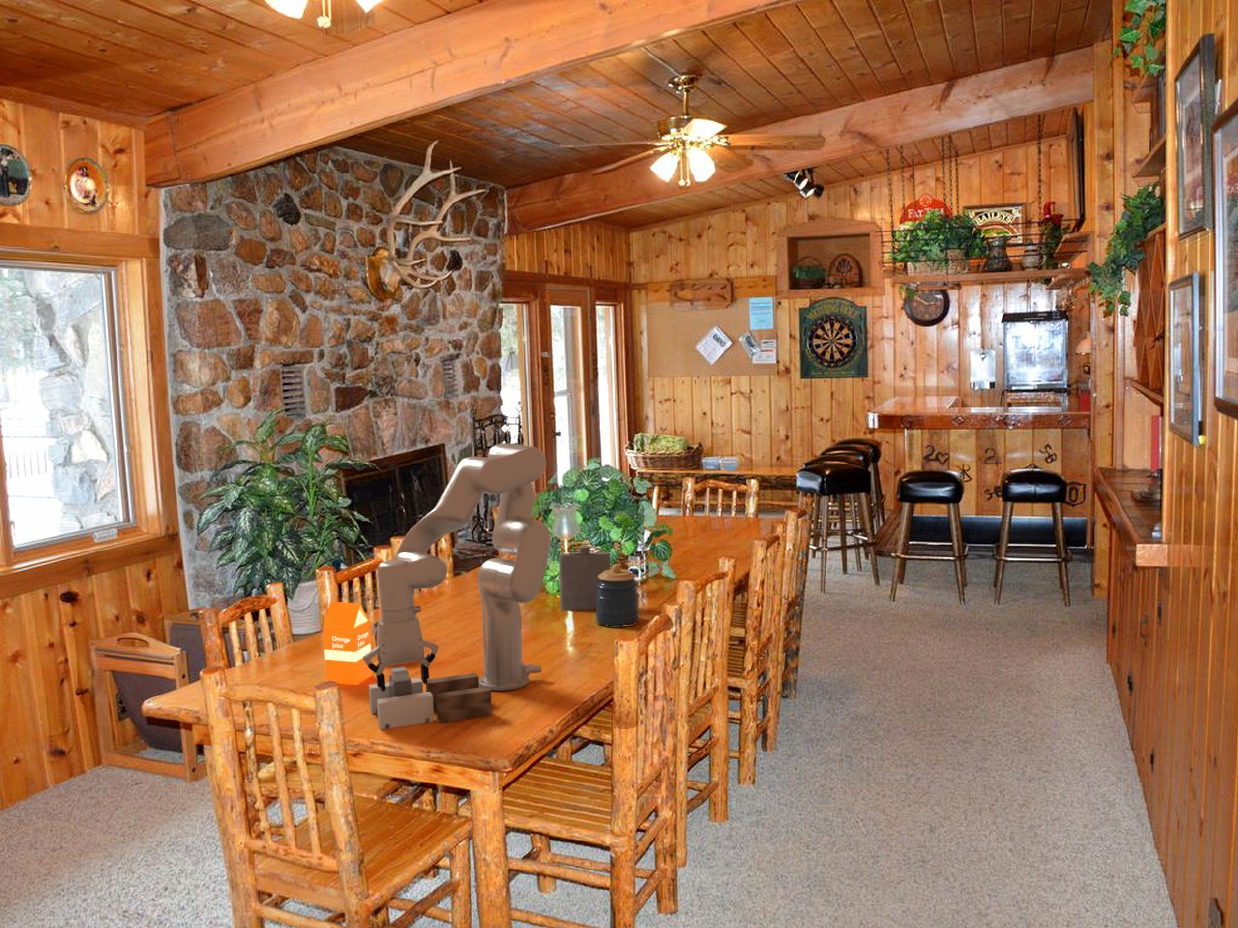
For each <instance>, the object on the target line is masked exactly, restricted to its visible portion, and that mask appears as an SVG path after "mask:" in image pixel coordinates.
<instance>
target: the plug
mask: <svg viewBox="0 0 1238 928" xmlns="http://www.w3.org/2000/svg"><path fill="white" fill-rule="evenodd" d="M411 679H412V678H410V673H409V671H408V670H407V668H406V666H402V667H401V666H400V667H395V668H390V674H388V682H389V688H390V697H397V696H405V695H412V684H411Z"/></svg>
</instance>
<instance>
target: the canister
mask: <svg viewBox="0 0 1238 928" xmlns="http://www.w3.org/2000/svg"><path fill="white" fill-rule="evenodd" d="M598 578H599V581H597V582H596V583H595V586H596V587H597V593H596V595H595V596H596V611H595V619H596V623H597V624H598V623H599V624H601V625H600V626H602V625H608V626H623V625H631V624H634V623H636V622H638V623H639V618H640V613H639V592H638V588H637V587H638V586H639V582H638V581H637V580H636V579H635V578H636V574H635V573H633V572H632V571H631V570H630V569H629V570H628V569H624V568H621V566H620V564H616V563H615V564H613V565H612V567H611V568H610V570H605V571H603V572H602V573H601V574H599V575H598ZM599 624H598V625H599ZM636 624H637V623H636Z"/></svg>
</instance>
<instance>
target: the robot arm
mask: <svg viewBox="0 0 1238 928" xmlns="http://www.w3.org/2000/svg"><path fill="white" fill-rule="evenodd" d="M546 469H547V459H546V456H545V454H544V452H543V451H542V450H541V449H540V448H538V447H536V446H532V445H524V444H516V443H505V442H504V443H497V444H495V445H493V446H492V447H491V448H490V449H489V451H488V453H487V457H486V456H483V457H482V456H468V457H465V458H463V459H462V460H460V462H459V463H458V465H457V466H456V468H455V470H454V472H453V474H452V476H451V477H450V479H449V482H448V483H447V485H446V486H445V489H444V491H442V494H441V496H440V498H439V500H438V502H437V503H436V505H435V507H434V508H433V509H432V510H431V511H429V512H428V513H427V514H425V516H423V517H422V518H421V519H420V520H419V521H418V522H417V523H416V524H415V525H413V526H412V527H411V528H410V530H409V531H408V532H407V533H406V535H405V536H404V537H403V540H402V541H401V543H400V546H399V547H398V549H397V551H396V553H395V556H394V558H393V559H388V560H384V561H382V562H380V563H379V564H378V566H377V579H378V581H377V582H378V583H377V584H378V593H379V594H378V595H379V605H380V615H381V616H380V618H381V619H380V620H378V621H377V622H378V627H377V647H376V646H375V647H374V648H372V649H371V651H370V652H369V653H367V654H366V655H364V656H363V660H364V662H365V663H366V665H367V666H368V667H369V669H371V670H372V672H373V673H374V674H376V684H377V686H378V687H380V688H381V690H382V692H383V691H385V683H386V681H385V680H386V679H385V674H384V671H385V669H386V668H387V666H395V665H401V664H402V665H403V664H407V663H408V664H409V663H412V662H417V661H419V662H420V663H421V664H419V665H420V666H419V669H420V679H421V680H422V683H423V684H424V685H426V684H427V679H430V671H429V667H430V666H431V663H432V662H433V660H435V658H436V655H437V653H438V650H439V649H440V647H439V645H438V644H437V643H434V642H432V641H428V640H425V639H423V635H422V634H423V633H422V628H421V624H420V621H419V618H418V615H417V613H420V612H422V607H421V605H415V601H414V600H415V596H414V590H419V589H421V590H423V589H432V588H434V587H437V586H439V585H440V584H442V583H443V582H444V581H445V579H446V577H447V574H448V568H447V564H446V563H445V561H444V560H443V559H442V558H440V557H439V556H436V555H433V554H429V553H428V551H429V549H430V548H431V547H432V546H433V545H434V544H435V542H437V541H438V540H439V539H440V538H442V537H444V536H446V535H448V534H450V533H452V532H453V533H454V532H456V531H458V530H460V529H462V528H465V526H467V525H468V523H469V521H470V519H471V518H472V515H473V514H474V512H475V510H476V508H477V506H478V504H479V502H480V500H481V498H482V497H483V496H484V494H488V495H493V496H494V495H500V499H499V504H498V510H497V512H496V513H497V515H496V517H495V518H496V519H495V523H494V528H493V531H492V537H491V539H492V540H491V542H492V545H493V547H494V549H496V550H497V551H499V552H500V553H504V554H507V555H512V556H515V559H514V560H511V559H507V558H501V557H500V558H499V557H494V558H493V557H492V558H490V559H487V560H486V561H484V562H483V563H482V564H481V566H480V567H479V569H478V572H477V578H476V580H477V582H476V583H477V588H478V592H479V596H480V603H481V610H482V611H481V614H482V616H481V617H482V639H483V641H482V643H483V645H482V646H483V668H484V669H483V671H484V673H483V675H481V676H480V677H478V678H479V688H481V687H488V688H489V689H490V690H491V691H495V692H497V691H498V692H500V691H503V692H504V691H511V690H517V689H521V688H523V687H525V686H527V685H528V684H529V683H530V677H529V675H530V674H537V673H538V674H539V673H541V672H542V665H541V664H535V665H534V664H533V663H528V664H525V663H524V662H523V645H522V644H523V642H522V639H523V636H522V613H521V612H522V611H521V607H520V604H527V603H531V602H532V601H534V600H535V599H537V596H538V595H539V593H540V591H541V588H542V586H543V583H544V579H545V573H546V568H547V565H548V561H549V555H550V551H551V550H550V549H551V544H552V543H551V541H552V539H551V534H550V531H549V529H548V527H547V525H546V524H545V523H544V522H542V521H541V520H537V519H534V518H533V513H534V512H533V511H534V506H535V490H534V487H533V482H535V481H537V480H538V479H540V478H541V477H542V476H543V474H544V473H545V470H546ZM425 648H427V649H430V651H429V653H428V654H427V655H426V656H425ZM376 656H377V660H378V659H379V660H380V661H379V662H378V663H377V664H374V663H373V662H372V659H374V658H375V657H376Z"/></svg>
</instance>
